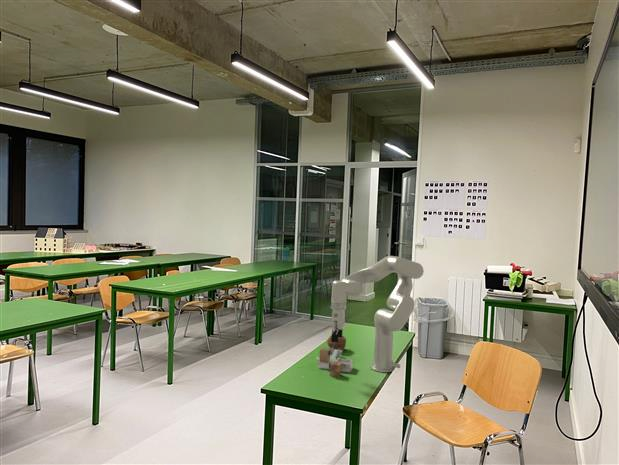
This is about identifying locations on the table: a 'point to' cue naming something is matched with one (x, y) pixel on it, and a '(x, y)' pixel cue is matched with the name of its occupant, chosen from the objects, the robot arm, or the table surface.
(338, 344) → the decorative rock
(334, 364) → the wood grain cube
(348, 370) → the white desk organizer
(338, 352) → the metal bracket
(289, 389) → the table surface
